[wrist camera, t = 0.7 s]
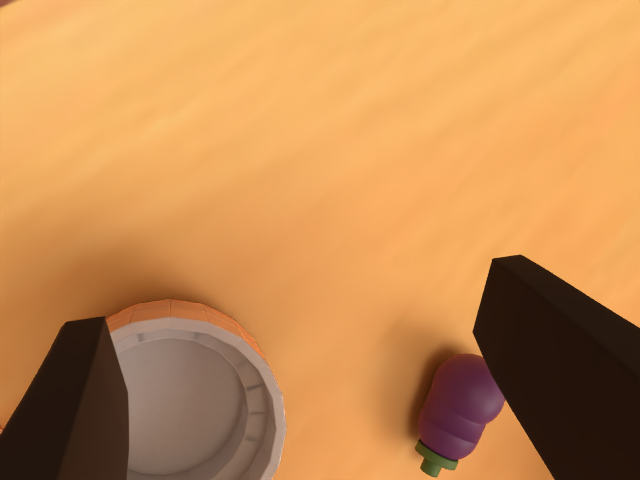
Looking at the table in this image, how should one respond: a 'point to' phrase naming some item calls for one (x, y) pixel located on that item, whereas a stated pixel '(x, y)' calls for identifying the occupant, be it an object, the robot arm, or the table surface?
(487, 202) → the table surface
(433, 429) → the eggplant
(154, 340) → the bowl
